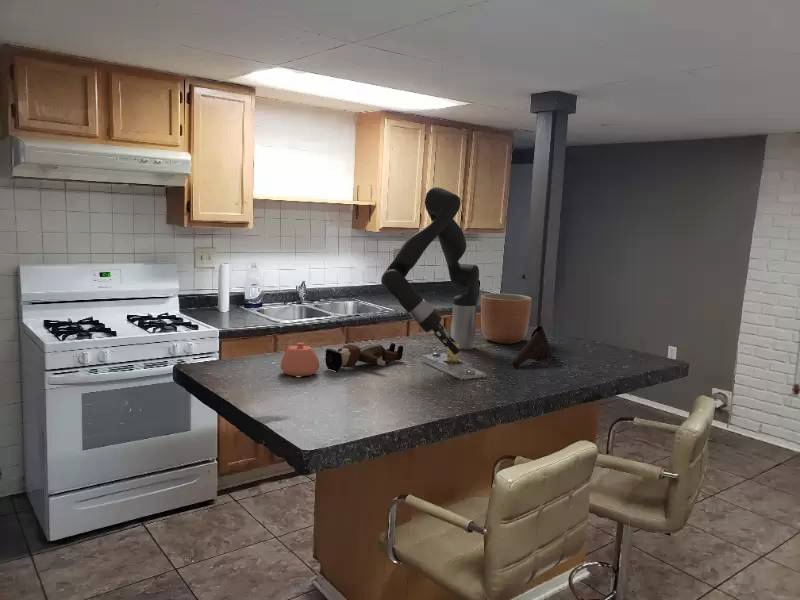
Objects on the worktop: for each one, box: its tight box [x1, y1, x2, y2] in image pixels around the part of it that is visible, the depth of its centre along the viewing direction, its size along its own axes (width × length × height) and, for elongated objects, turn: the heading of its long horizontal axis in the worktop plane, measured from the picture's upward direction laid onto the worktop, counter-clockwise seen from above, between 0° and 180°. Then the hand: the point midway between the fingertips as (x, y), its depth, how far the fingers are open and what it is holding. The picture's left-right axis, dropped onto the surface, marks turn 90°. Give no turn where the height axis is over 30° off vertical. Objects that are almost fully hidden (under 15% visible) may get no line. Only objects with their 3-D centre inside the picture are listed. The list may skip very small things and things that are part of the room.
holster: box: [512, 325, 553, 369], centre depth 233 cm, size 5×16×25 cm
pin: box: [446, 342, 460, 365], centre depth 216 cm, size 4×4×9 cm
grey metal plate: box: [421, 351, 487, 381], centre depth 217 cm, size 26×10×3 cm, turn 28°
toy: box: [324, 342, 404, 373], centre depth 217 cm, size 24×10×30 cm
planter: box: [480, 292, 532, 345], centre depth 267 cm, size 21×21×19 cm
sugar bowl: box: [280, 342, 320, 377], centre depth 203 cm, size 12×14×10 cm
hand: (457, 350), depth 216 cm, fingers open, 8 cm apart
